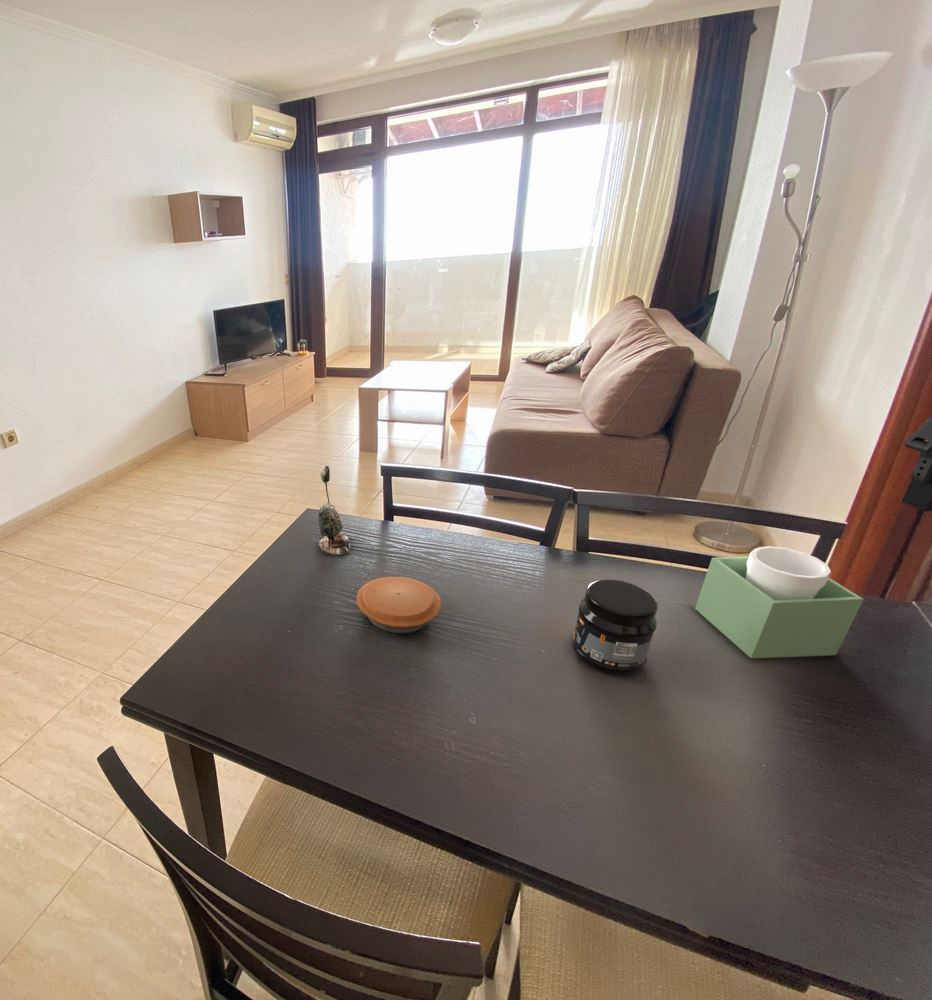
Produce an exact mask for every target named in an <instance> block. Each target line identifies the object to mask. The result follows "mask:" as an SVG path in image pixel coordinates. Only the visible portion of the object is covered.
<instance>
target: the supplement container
mask: <svg viewBox="0 0 932 1000" xmlns="http://www.w3.org/2000/svg"><path fill="white" fill-rule="evenodd" d="M578 605H579V606H578V614H577V618H576V623H575V627H574V632H573V636H572V639H571V646H572V650H573V652H574V653H575V654H576V656H577V657H578V658H579V659H580V660H581V661H582V662H583V663H585V664H586V665H588V666H590V667H591V668H593V669H595V670H598V671H601V672H603V673H606V674H611V675H619V676H625V675H632V674H635V673H637V672H639V671H641V670H642V669H643V668H644V666H645V664H646V661H647V656H648V652H649V649H650V645H651V643H652V639H653V636H654V633H655V632H656V630H657V627H658V622H657V618H656V616H657V615H656V614H657V612H658V609H659V604H658V601H657V599H656V598H655V597H654V595H652V594H651V593H650V592H649V591H648V590H646V589H644V588H642V587H641V586H639V585H636V584H633V583H630V582H627V581H623V580H618V579H601V580H600V579H599V580H596V581H593V582H591V583H590V584H588V586H587V587H586V590H585V594H584V598H583V599H582V600H581V601H580V603H579V604H578Z"/></svg>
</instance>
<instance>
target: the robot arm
mask: <svg viewBox="0 0 932 1000" xmlns="http://www.w3.org/2000/svg"><path fill="white" fill-rule="evenodd" d="M904 447H905V448H907V449H910V450H913V451H917V452H919V457H918V460H917V462H916V464H915V466H914V468H913V470H912V472H911V473H910V483H909V485H908V486H907V489H906V490H905V493H904V495H903V496H902V499H901V502H902V503H904V504H906V505H908V506H911V507H913V508H915V509H919V510H921V511H923V512H932V415H931V416H930V417H928V419H926V420H925V422H924V423H923V424H922V425H921V426H919V428H918V429H917V430H915V432H914V433H913V434H912V435H911V436H909V438H908V439H907V440H906V441H905V442H904Z"/></svg>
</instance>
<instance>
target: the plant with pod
mask: <svg viewBox="0 0 932 1000" xmlns="http://www.w3.org/2000/svg"><path fill="white" fill-rule="evenodd" d="M330 471H331V470H330V467H329V465H324V467H323V468H322V470H321V471H320V479H321V481H322V482H323V483H324V485H325V491H326V497H327V498H326V499H327V503H325V504H323V505H321V506H320V508H317V511H318V517H317V521H318V522H317V523H318V526H319V534H320V535H321V536H322V538H321V539H320V540H319V542H318V543H317V545H318V546H319V547H320V549H321V550H322V552H323V553H324V554H327V555H333V556H336V555H337V556H338V555H341V556H342V555H345V554H347V553H348V552H349V551H350V548H351V546H352V545H351V542H350V538H349V536H347V535H346V534H344V533H343V532H342V530H343V529H344V526H343V519H342V518H341V514H340V512H339V511H338V510H337V508H336V506H335V505H334V504H331V503H330V498H329V491H328V483H329V482H330V479H331V477H330V476H331V473H330Z"/></svg>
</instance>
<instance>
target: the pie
mask: <svg viewBox="0 0 932 1000" xmlns="http://www.w3.org/2000/svg"><path fill="white" fill-rule="evenodd" d="M356 603H357V607H358V608H359V609H360V611H361V613H362V614H363V615H365V616H366V617H367V618H368V619H369V621H370V622H371V623H372V624H373V625H374V626H376V627H377V628H378V629H381V630H383V631H385V632H389V633H393V634H409V633H414V632H417V631H419V630H421V629H422V628H423V627H425V626H426V625H427V624H428V623H429V622H430V621H432V620H433V619H435V618H437V617H438V614H439V612H440V610H441V606H442V599H441V598H440V596H439V594H438V593H437V592H436V591H435V590H434V589H433V588H432V587H431V586H429V585H427V584H426V583H424V582H422V581H419V580H417V579H415V578H411V577H404V576H386V577H379V578H376V579H373V580H370V581H368V582H367V583H366V584H365V583H364V585H362V587H360V589H359V590H358V591H357V595H356Z"/></svg>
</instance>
